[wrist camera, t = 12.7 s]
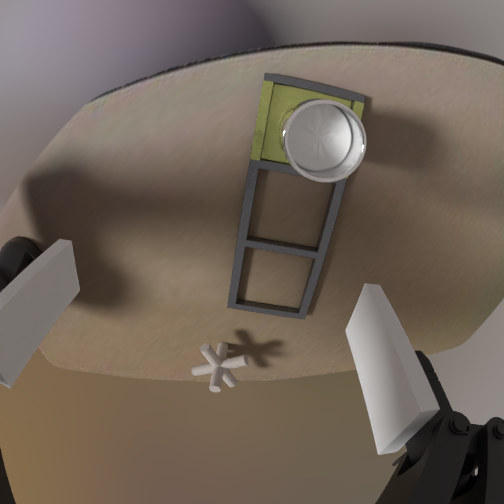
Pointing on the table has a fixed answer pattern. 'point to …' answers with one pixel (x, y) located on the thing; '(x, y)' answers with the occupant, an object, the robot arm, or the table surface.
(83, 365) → the table surface
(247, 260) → the table surface
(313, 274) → the grey flat frame
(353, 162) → the beer glass
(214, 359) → the pipe connector
